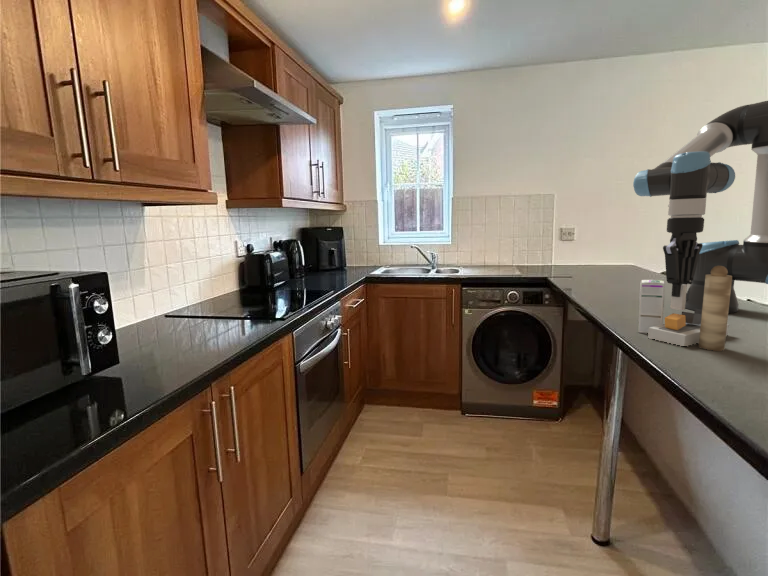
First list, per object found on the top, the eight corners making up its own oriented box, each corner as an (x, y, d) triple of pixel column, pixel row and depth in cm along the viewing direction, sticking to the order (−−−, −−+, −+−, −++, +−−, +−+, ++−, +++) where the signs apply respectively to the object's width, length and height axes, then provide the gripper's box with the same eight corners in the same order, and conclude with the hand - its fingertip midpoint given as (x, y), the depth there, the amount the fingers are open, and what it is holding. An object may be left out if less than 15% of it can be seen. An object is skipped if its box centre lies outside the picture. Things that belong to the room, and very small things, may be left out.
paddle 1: (673, 323, 110) (673, 313, 110) (685, 325, 108) (685, 315, 107) (665, 327, 109) (664, 317, 108) (677, 330, 106) (676, 320, 106)
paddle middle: (687, 322, 113) (689, 312, 113) (699, 324, 110) (701, 314, 110) (679, 321, 111) (682, 311, 111) (692, 323, 109) (694, 313, 109)
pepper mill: (705, 343, 106) (713, 264, 102) (728, 348, 101) (737, 265, 98) (694, 346, 103) (702, 265, 100) (717, 352, 99) (726, 267, 96)
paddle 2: (700, 319, 116) (702, 309, 115) (712, 321, 113) (714, 311, 113) (692, 318, 114) (695, 308, 114) (705, 320, 111) (707, 310, 111)
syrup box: (662, 335, 114) (666, 283, 111) (636, 332, 117) (640, 281, 115) (661, 330, 119) (665, 280, 116) (637, 327, 122) (640, 279, 119)
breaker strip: (691, 328, 120) (692, 317, 119) (727, 335, 112) (729, 323, 111) (647, 338, 111) (648, 326, 111) (683, 347, 103) (685, 334, 103)
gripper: (684, 216, 110) (677, 303, 114) (654, 217, 104) (647, 309, 108) (717, 215, 103) (708, 308, 107) (686, 217, 98) (677, 314, 101)
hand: (677, 308), depth 108 cm, fingers closed
